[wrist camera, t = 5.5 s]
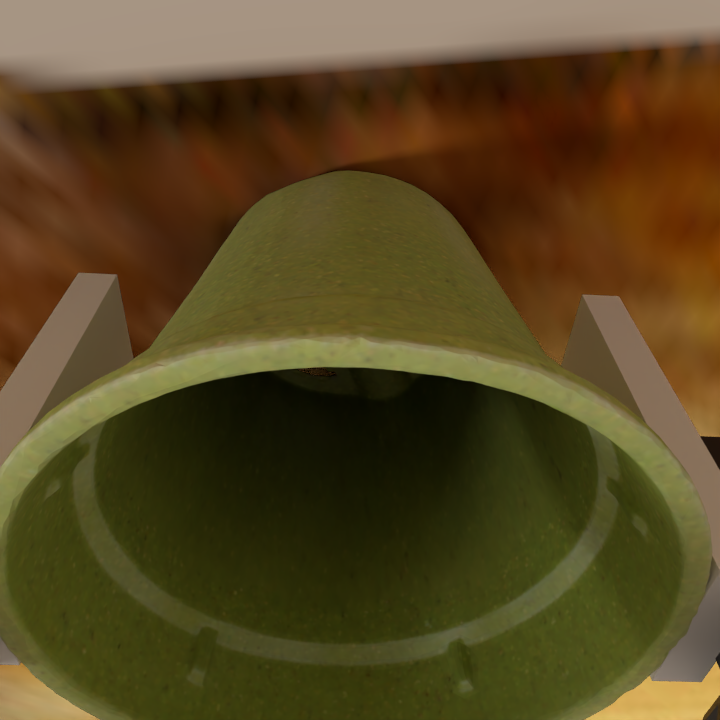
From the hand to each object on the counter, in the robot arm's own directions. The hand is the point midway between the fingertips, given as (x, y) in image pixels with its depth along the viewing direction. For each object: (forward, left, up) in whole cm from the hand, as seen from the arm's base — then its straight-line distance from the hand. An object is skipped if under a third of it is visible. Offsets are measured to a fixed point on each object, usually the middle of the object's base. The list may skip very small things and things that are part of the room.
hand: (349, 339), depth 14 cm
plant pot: (0, 0, -2) cm, 2 cm away
